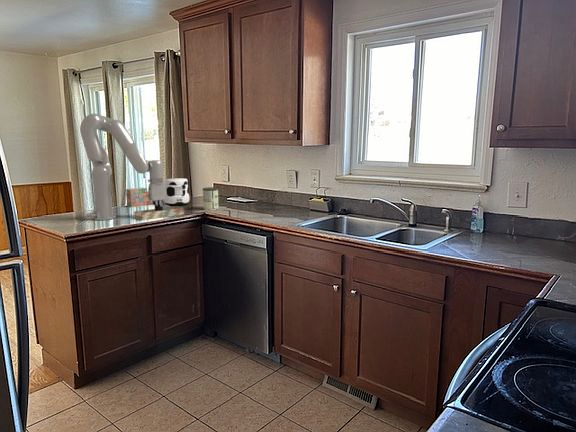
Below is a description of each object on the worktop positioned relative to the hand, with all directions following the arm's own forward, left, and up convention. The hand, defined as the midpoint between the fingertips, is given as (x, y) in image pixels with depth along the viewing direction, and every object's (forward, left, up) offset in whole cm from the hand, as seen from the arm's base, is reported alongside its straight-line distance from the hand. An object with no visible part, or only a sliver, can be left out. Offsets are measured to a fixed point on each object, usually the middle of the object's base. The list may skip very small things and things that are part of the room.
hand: (157, 211), depth 264 cm
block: (+5, 0, -1) cm, 5 cm away
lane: (+1, 0, -3) cm, 3 cm away
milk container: (+34, +33, -3) cm, 48 cm away
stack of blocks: (+16, +47, -4) cm, 50 cm away
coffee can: (+39, 0, -3) cm, 39 cm away
